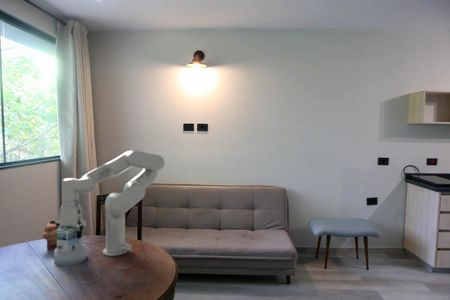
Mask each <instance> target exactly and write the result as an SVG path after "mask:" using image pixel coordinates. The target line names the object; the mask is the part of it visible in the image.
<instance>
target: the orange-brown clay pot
mask: <svg viewBox="0 0 450 300" xmlns="http://www.w3.org/2000/svg"><path fill="white" fill-rule="evenodd" d="M64 227H65V226H64ZM57 229H58V227H57V226H56V223H55V221H54V220H51V221H49V222H48V223H47V224H46V226H45V228H44V230H43V231H42V238H43V239H45V240H46V248H47V249H48V250H55V249H56V248H57Z"/></svg>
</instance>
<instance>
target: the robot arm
mask: <svg viewBox="0 0 450 300" xmlns="http://www.w3.org/2000/svg"><path fill="white" fill-rule="evenodd" d="M164 166H165V160H164V157H163V156H161V155H159V154H156V153H150V152H149V153H148V152H144V151H139V150H135V149H129V150H127V151H125V152H123V153H122V154H120V155H118V156H117V157H116V158H114V159H112V160H110V161H108V162H106V163H104V164H103V165H101V166H99V167H96V168H94V169H93V170H91V171H89V172H88V173H85V174H84V175H83V176H81V177H80V178H79V179H78V178H76V177H67V178H63V179H62V180H61V206H60V209H59V216H58V217H57V218H56V219H54V220H53V221H55V223H56V226H57V227H58V229H60V228H62V227H64V226H68V227H76V229H77V230H78V231H77V239H79V238H81V237H82V229H83V230H84V228H85V227H86V225H87V223H88V221H86V219H84V218H83V210H82V207H81V206H82V205H81V201H80V196H79V195H80V193H81V194H83V193H84V194H89V193H93V192H94V191H95V190H96V187H97V184H99V183H101V182H103V181H104V180H107V179H111V178H116V177H118V176H120V175H121V174H123V173H124V172H126V171H127V170H129V169H131V168H133V167H134V168H139V169H142V170H141V172H139V173H138V174H137V175H135V176H134V177H133V178H131V179H130V180H129V181H128V182H126V183H125V184H124V186H123V191H122V192H112V193H111V192H110V194H109V195H107V196H106V199H105V202H104V205H105V206H104V208H105V247H104V249H103V250H102V254H103V255H104V256H108V257H115V256H121V255H123V254H125V253H127V252H128V251H131V250H132V245H130V244H128V243H127V241H126V213H127V212H128V211H129V210H131V209H132V208H133V207H134V206H135V205H137V204H138V203H140V201H141V200H143V198H144V197H145V194H146V189H147V188H148V187H149V186H150V185H151V184H153V182H154V181H155V180H156V178H157V176H158V173H159V171H160V170H162V169H163V168H164ZM78 226H79V227H80V228H79V227H78Z"/></svg>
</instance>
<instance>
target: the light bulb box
mask: <svg viewBox="0 0 450 300" xmlns="http://www.w3.org/2000/svg"><path fill="white" fill-rule="evenodd" d="M78 227H79V226H78ZM79 228H80V227H79ZM83 230H84V228H83V229H82V237H81V238H79V239H77V231H78V230H77V229H76V227H68V226H65V227H62V228H60V229H57V251H60V252H67V253H68V252H70V251H72V250H74V249H76V248H78V247H80V246H82V245H83V244H84V242H83V240H84V239H83V235H84V234H83V232H84V231H83Z"/></svg>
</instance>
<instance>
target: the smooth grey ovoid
mask: <svg viewBox="0 0 450 300" xmlns="http://www.w3.org/2000/svg"><path fill="white" fill-rule="evenodd" d="M53 253H54V254H53V255H54V257H53V259H54V265H55V266H60V267H66V266H67V267H69V266H74V265H77V264H81V263H82V262H84V261H85V260H86V259H87V245H86V244H84V243H83V245H82V246H80V247H78V248H76V249H74V250H72V251H70V252H68V253H67V252H60V251H57V248H56V249H55V250H54V251H53Z"/></svg>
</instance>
